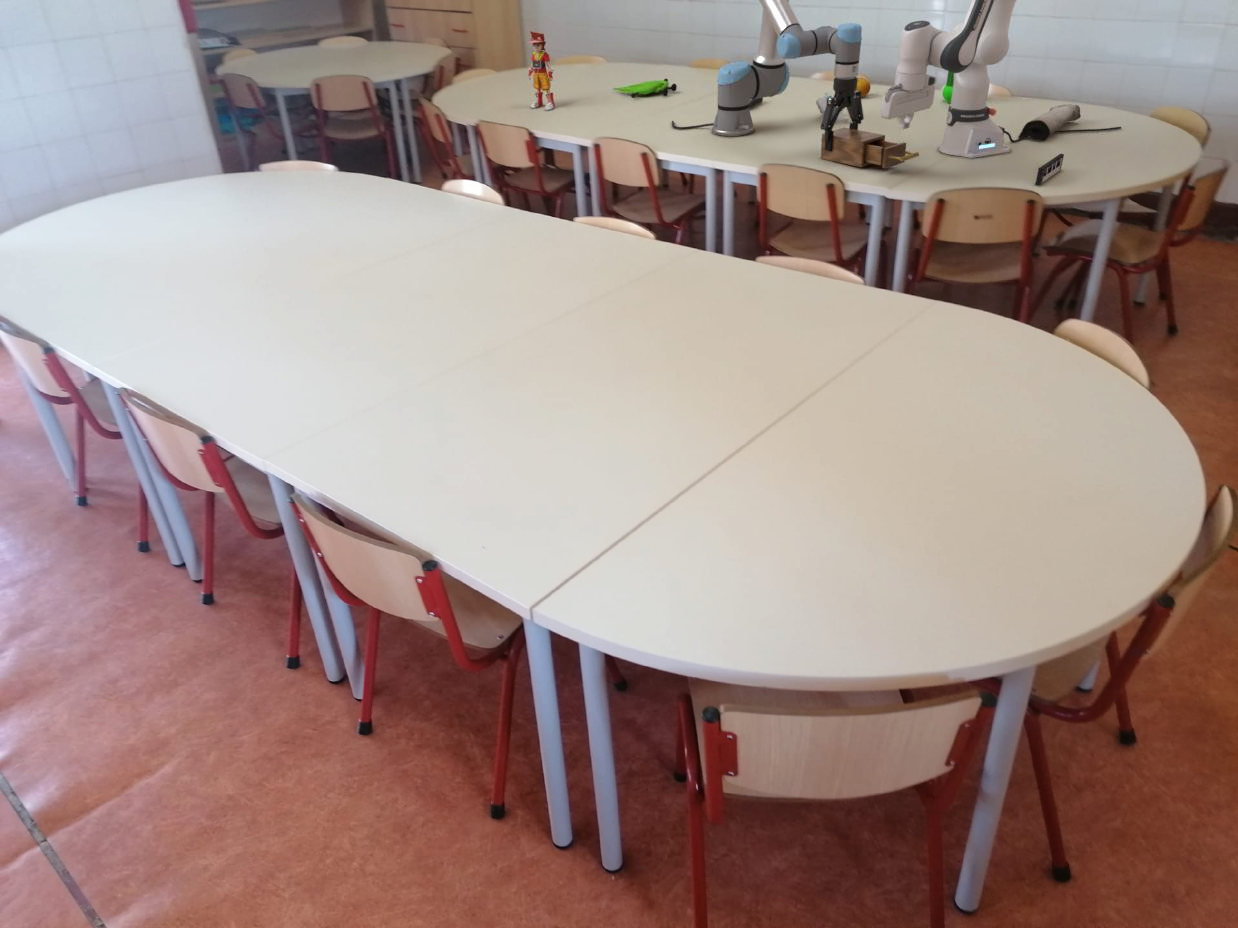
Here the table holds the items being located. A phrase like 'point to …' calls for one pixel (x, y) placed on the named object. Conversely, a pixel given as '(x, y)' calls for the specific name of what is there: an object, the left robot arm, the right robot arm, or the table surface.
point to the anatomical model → (822, 106)
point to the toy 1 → (541, 71)
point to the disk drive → (754, 102)
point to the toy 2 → (648, 88)
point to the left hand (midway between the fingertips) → (840, 147)
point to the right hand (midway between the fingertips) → (904, 128)
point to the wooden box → (849, 146)
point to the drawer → (887, 153)
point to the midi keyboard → (1049, 169)
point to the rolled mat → (1050, 122)
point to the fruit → (863, 86)
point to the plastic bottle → (948, 87)
